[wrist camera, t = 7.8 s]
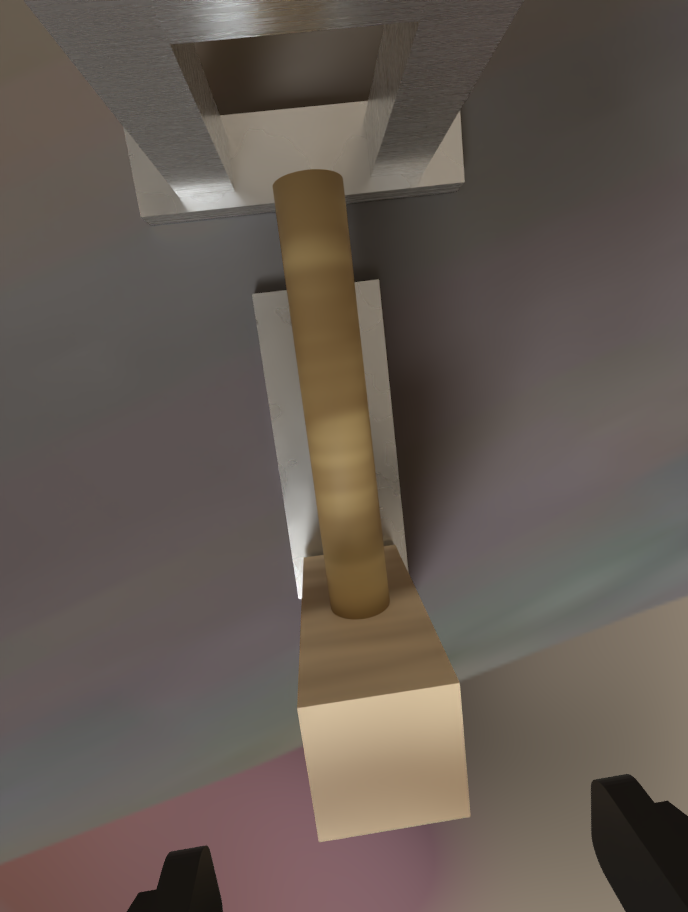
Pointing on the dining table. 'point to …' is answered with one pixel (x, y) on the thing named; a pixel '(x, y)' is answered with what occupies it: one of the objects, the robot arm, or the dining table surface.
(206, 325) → the dining table surface
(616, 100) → the dining table surface
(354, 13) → the white stand
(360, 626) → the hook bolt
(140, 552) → the dining table surface
